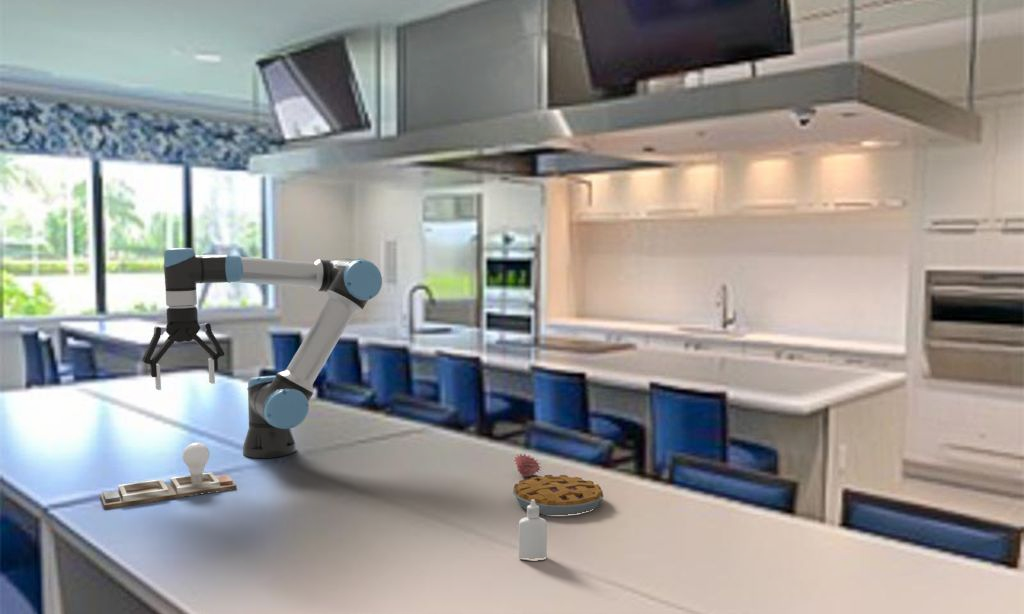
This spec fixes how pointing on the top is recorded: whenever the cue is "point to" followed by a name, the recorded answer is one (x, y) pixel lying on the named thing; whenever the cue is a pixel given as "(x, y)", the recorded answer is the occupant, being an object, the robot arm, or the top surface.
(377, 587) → the top surface
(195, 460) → the lightbulb
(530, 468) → the flower
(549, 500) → the pie
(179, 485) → the socket board
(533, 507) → the eye dropper bottle
